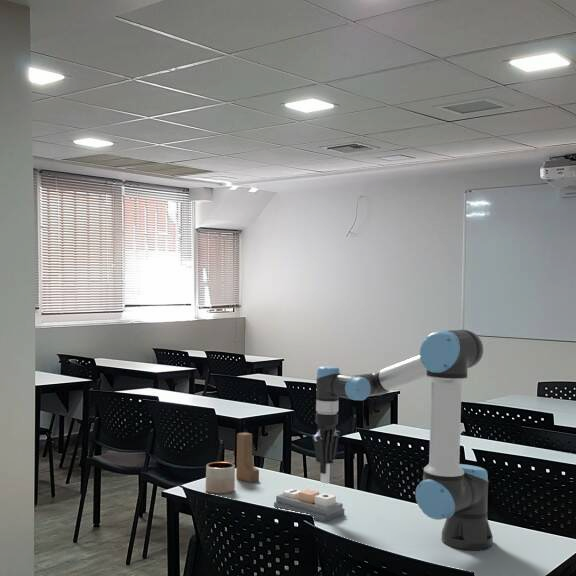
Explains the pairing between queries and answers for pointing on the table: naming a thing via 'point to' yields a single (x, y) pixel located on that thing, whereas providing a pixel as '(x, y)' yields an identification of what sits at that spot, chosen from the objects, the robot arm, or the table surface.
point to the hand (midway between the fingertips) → (324, 482)
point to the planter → (220, 477)
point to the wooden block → (245, 459)
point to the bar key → (292, 494)
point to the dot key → (325, 500)
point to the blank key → (308, 496)
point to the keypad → (310, 508)
